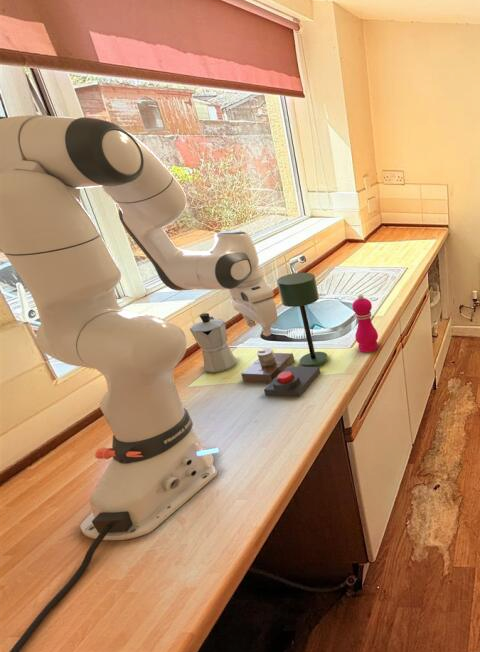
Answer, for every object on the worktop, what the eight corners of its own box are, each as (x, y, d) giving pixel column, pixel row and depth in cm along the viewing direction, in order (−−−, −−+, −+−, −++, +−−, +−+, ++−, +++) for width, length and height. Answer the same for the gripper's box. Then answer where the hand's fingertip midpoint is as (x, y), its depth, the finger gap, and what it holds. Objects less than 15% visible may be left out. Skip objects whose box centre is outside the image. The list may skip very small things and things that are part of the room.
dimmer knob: (278, 359, 124) (274, 347, 123) (270, 366, 121) (267, 354, 119) (265, 359, 125) (262, 347, 123) (257, 366, 121) (254, 354, 119)
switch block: (299, 397, 112) (296, 386, 111) (265, 396, 113) (261, 384, 111) (320, 373, 123) (318, 362, 122) (289, 372, 124) (286, 361, 122)
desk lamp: (322, 371, 124) (303, 285, 112) (290, 370, 125) (269, 283, 113) (336, 354, 133) (320, 273, 122) (307, 353, 134) (288, 272, 122)
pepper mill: (352, 350, 136) (343, 296, 128) (368, 341, 142) (360, 289, 134) (368, 355, 133) (359, 300, 125) (383, 346, 139) (376, 293, 131)
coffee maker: (238, 370, 124) (221, 318, 117) (203, 379, 119) (184, 326, 112) (236, 349, 135) (221, 301, 128) (204, 357, 131) (187, 307, 123)
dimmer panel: (272, 383, 118) (270, 374, 117) (243, 382, 119) (240, 373, 117) (294, 361, 129) (292, 353, 128) (267, 360, 130) (265, 352, 128)
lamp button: (288, 383, 112) (287, 378, 111) (276, 383, 112) (274, 378, 112) (295, 376, 115) (294, 371, 115) (283, 375, 116) (282, 370, 115)
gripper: (218, 282, 115) (232, 324, 121) (252, 299, 105) (264, 344, 110) (242, 276, 120) (254, 317, 126) (276, 292, 109) (287, 336, 115)
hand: (259, 330), depth 118 cm, fingers open, 8 cm apart
